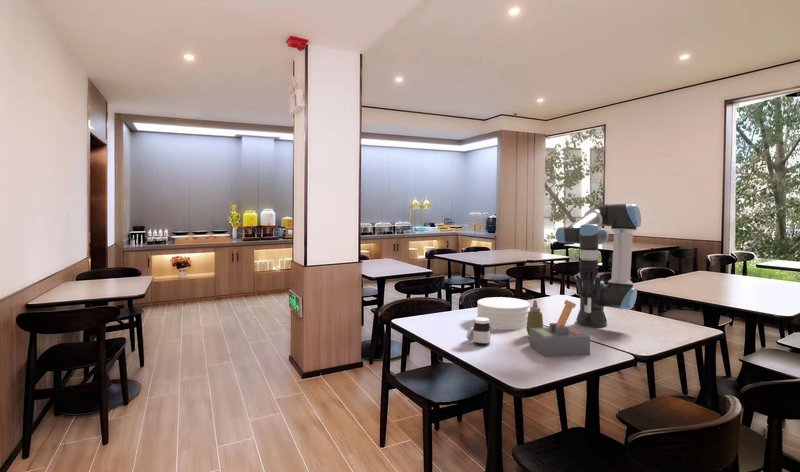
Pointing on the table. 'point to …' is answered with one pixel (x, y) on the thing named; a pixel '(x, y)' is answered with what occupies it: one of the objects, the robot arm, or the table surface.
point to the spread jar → (480, 332)
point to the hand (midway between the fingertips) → (587, 312)
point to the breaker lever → (565, 313)
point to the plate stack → (504, 312)
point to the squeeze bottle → (534, 317)
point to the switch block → (559, 341)
